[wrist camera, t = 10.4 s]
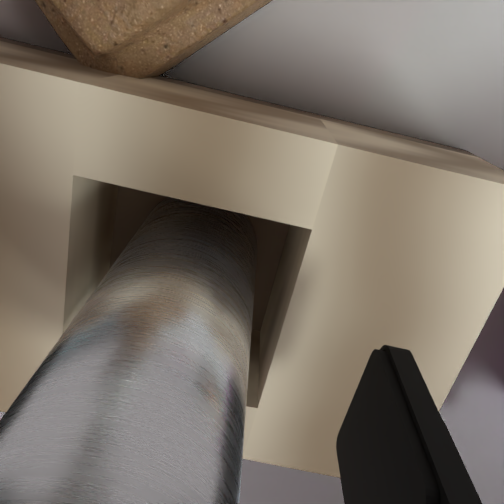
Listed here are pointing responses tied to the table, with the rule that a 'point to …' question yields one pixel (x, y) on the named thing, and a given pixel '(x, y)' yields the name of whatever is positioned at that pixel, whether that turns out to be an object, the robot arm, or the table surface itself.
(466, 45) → the table surface
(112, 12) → the candle holder
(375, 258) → the birch block
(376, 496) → the robot arm
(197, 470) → the steel pin
